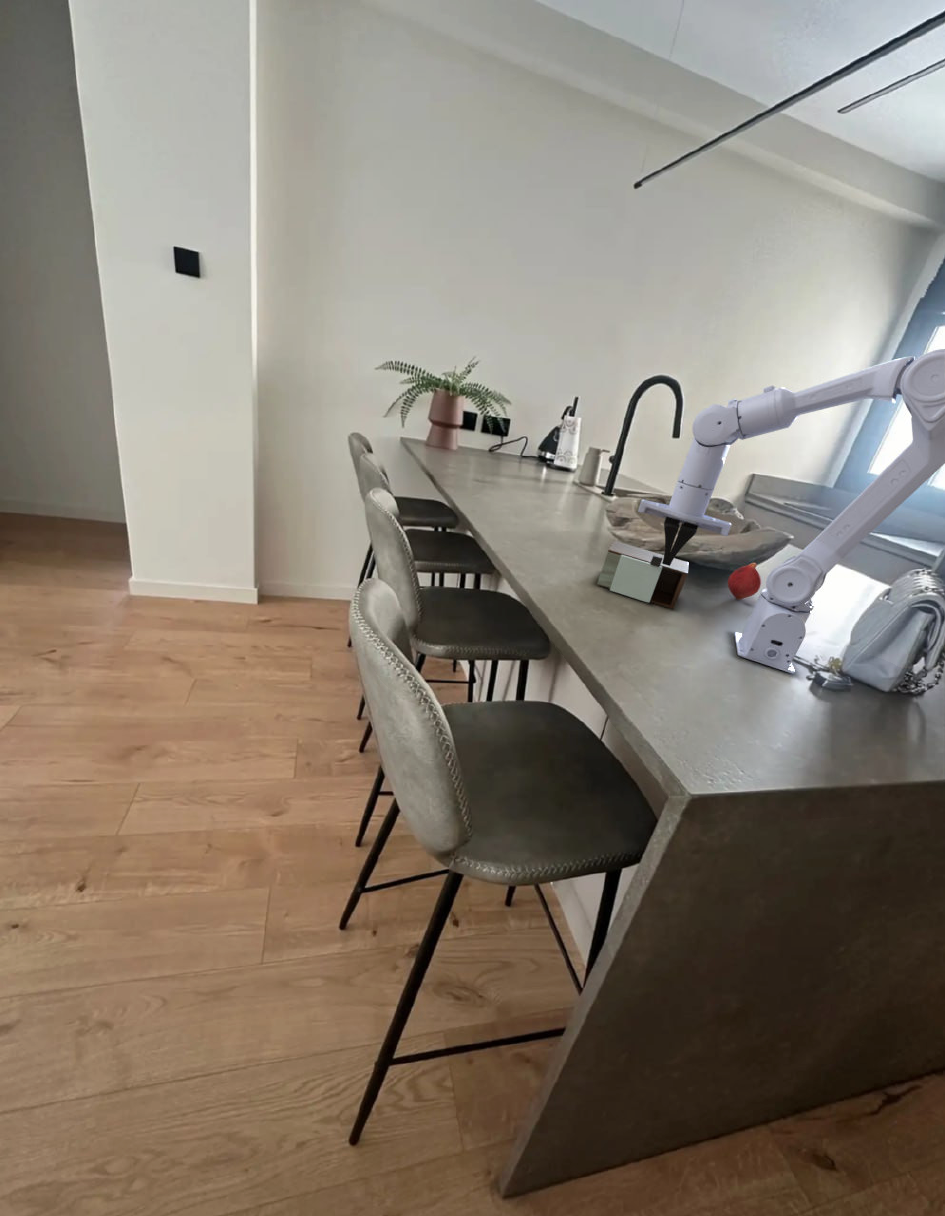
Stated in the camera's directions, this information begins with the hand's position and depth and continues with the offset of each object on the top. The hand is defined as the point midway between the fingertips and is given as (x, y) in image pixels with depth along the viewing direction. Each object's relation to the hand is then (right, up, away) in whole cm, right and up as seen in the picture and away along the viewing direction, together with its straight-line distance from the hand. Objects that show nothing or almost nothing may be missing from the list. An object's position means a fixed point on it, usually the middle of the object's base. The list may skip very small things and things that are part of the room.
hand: (666, 563), depth 90 cm
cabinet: (-2, -4, +8) cm, 10 cm away
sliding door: (-5, -6, +4) cm, 9 cm away
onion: (+20, -6, +16) cm, 27 cm away
